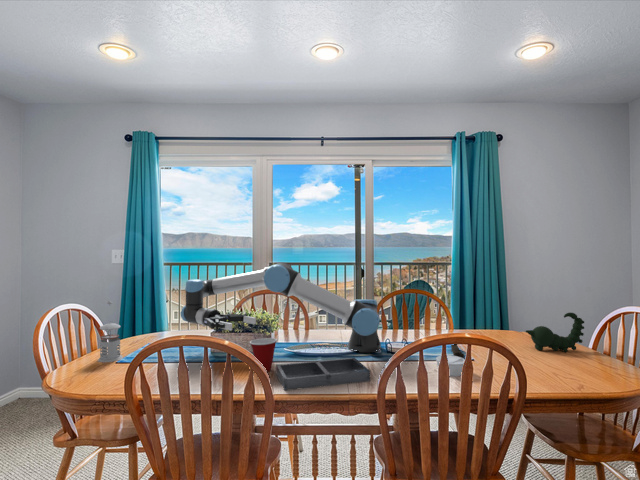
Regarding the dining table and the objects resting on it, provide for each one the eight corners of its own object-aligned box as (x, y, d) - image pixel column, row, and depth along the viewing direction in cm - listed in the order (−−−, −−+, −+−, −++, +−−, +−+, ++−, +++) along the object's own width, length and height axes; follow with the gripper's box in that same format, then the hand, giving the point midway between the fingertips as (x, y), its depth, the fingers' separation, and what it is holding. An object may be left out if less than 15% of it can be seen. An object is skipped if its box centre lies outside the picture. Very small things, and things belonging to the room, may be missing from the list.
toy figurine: (573, 351, 195) (519, 345, 196) (577, 311, 194) (523, 306, 196) (585, 357, 185) (528, 351, 187) (589, 315, 185) (532, 310, 186)
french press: (100, 363, 171) (100, 303, 171) (93, 357, 180) (93, 300, 179) (126, 359, 178) (125, 301, 177) (118, 353, 186) (117, 297, 186)
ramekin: (466, 379, 154) (466, 365, 154) (435, 376, 157) (435, 362, 157) (465, 369, 165) (465, 356, 164) (436, 366, 168) (436, 353, 168)
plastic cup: (266, 363, 172) (266, 334, 171) (282, 369, 164) (282, 339, 164) (244, 369, 164) (244, 339, 164) (260, 376, 156) (260, 345, 156)
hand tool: (463, 362, 174) (463, 351, 174) (453, 361, 175) (454, 350, 175) (458, 349, 193) (459, 339, 193) (450, 349, 194) (450, 339, 194)
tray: (354, 367, 167) (354, 357, 167) (370, 381, 151) (370, 370, 151) (276, 374, 158) (276, 364, 158) (284, 390, 143) (284, 379, 143)
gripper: (229, 320, 191) (264, 327, 179) (185, 331, 171) (220, 339, 159) (229, 304, 191) (264, 310, 179) (185, 313, 171) (220, 320, 159)
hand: (243, 323), depth 169 cm, fingers open, 13 cm apart
